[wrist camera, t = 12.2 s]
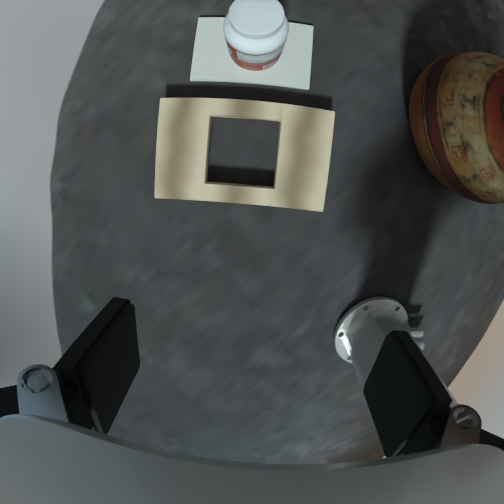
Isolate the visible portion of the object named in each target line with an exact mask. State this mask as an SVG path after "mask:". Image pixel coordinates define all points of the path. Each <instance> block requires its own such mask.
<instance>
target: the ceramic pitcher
mask: <svg viewBox="0 0 504 504" xmlns="http://www.w3.org/2000/svg"><path fill="white" fill-rule="evenodd" d="M409 120H410V126H411V130H412V134H413V139H414V142H415V145H416V148H417V150H418V152H419V154H420V156H421V158H422V160H423V162H424V163H425V165H426V166H427V168H428V169H429V171H430V172H431V173H432V175H433V176H434V177H435V178H436V179H437V180H438V181H439V182H441V183H442V184H443V185H444V186H446V187H447V188H449V189H450V190H451V191H453V192H455V193H457V194H458V195H460V196H462V197H464V198H467V199H469V200H472V201H476V202H479V203H485V204H497V203H504V59H503V58H501V57H498V56H496V55H493V54H490V53H485V52H477V51H460V52H453V53H449V54H447V55H444V56H442V57H440V58H438V59H436V60H435V61H433V62H432V63H431V64H429V65H428V66H427V67H426V68H425V69H424V70H423V72H422V73H421V74H420V75H419V77H418V79H417V80H416V82H415V84H414V86H413V89H412V92H411V95H410V100H409Z"/></svg>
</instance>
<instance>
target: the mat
mask: <svg viewBox="0 0 504 504" xmlns="http://www.w3.org/2000/svg"><path fill="white" fill-rule="evenodd" d="M224 19H225V17H199V19H198V25H197V31H196V38H195V45H194V52H193V59H192V67H191V76H190V81H218V82H239V83H253V84H264V85H274V86H283V87H290V88H298V89H304V90H309V84H310V71H311V57H312V42H313V26H310V25H304V24H298V23H291V22H288V24H289V32H288V36H287V39H286V42H285V45H284V48H283V51H282V54H281V56H280V58H279V60H278V61H277V63H276V64H275V65H273V66H272V67H270V68H268V69H266V70H263V71H248V70H245V69H242V68H240V67H239V66H238V65H236V64H235V63H234V62H233V60H232V59H231V57H230V54H229V51H228V47H227V43H226V40H225V36H224V32H223V23H224Z"/></svg>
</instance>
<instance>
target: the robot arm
mask: <svg viewBox="0 0 504 504" xmlns="http://www.w3.org/2000/svg"><path fill="white" fill-rule="evenodd" d="M422 336H423V329H412V328H411V327H410V326H409V325H408V315H407V313H406V310H405V309H404V307H403V306H402V305H401V304H400V303H399V302H398V301H397V300H395V299H393V298H390V297H382V296H379V297H372V298H369V299H366V300H364V301H362V302H360V303H358V304H356V305H355V306H353V307H352V308H351V309H350V310H348V311H347V312H346V313H345V314H344V316H343V317H342V318H341V319H340V321H339V323H338V325H337V326H336V329H335V332H334V345H335V348H336V351H337V353H338V354H339V356H340V357H341V358H342V359H344V360H345V361H347V362H350V363H353V366H354V368H355V371H356V373H357V376H358V378H359V381H360V383H361V386H362V388H363V392H364V395H365V398H366V401H367V404H368V406H369V409H370V412H371V415H372V418H373V421H374V424H375V427H376V429H377V432H378V435H379V438H380V441H381V444H382V447H383V450H384V454H385V456H386V457H387V458H383V459H375V460H367V461H358V462H347V463H333V464H306V465H288V464H261V463H247V462H236V461H227V460H219V459H211V458H204V457H198V456H192V455H186V454H181V453H176V452H171V451H166V450H162V449H158V448H153V447H149V446H145V445H142V444H138V443H134V442H130V441H126V440H123V439H119V438H116V437H113V436H109V435H106V434H107V433H108V431H109V429H110V427H111V425H112V423H113V421H114V419H115V417H116V415H117V412H118V410H119V408H120V406H121V404H122V402H123V400H124V398H125V396H126V394H127V392H128V390H129V388H130V386H131V384H132V382H133V380H134V378H135V376H136V374H137V372H138V369H139V366H140V358H139V349H138V340H137V330H136V318H135V307H134V305H133V304H131V303H130V300H128V299H123V298H118V297H114V298H112V300H111V301H110V302H109V303H108V304H107V305H106V306H105V307H104V308H103V309H102V311H101V312H100V313H99V314H98V315H97V316H96V317H95V319H94V320H93V321H92V322H91V323H90V324H89V325H88V327H87V328H86V329H85V330H84V331H83V332H82V333H81V334H80V336H79V337H78V338H77V339H76V340H75V342H74V343H73V344H72V345H71V346H70V348H69V349H68V350H67V351H66V352H65V354H64V355H63V356H62V357H61V358H60V360H59V361H58V362H57V364H56V365H55V366H54V367H53V368H51V367H49V366H47V365H42V364H38V365H37V364H36V365H31V366H28V367H27V368H25V369H23V370H22V371H21V372H20V374H19V376H18V378H17V385H14V386H10V387H5V388H0V504H504V439H503V438H500V437H498V436H496V435H494V434H491V433H489V432H487V431H485V430H483V429H481V425H482V424H481V418H480V416H479V415H478V413H477V412H476V411H475V410H474V409H473V408H471V407H469V406H467V405H459V404H458V403H457V401H456V400H455V399H454V397H453V396H452V394H451V392H450V391H449V390H448V388H447V387H446V385H445V383H444V382H443V380H442V379H441V377H440V376H439V374H438V373H437V371H436V370H435V368H434V367H433V365H432V364H431V362H430V361H429V359H428V358H427V356H426V355H425V354H424V352H423V351H422V350H423V348H424V341H423V340H422V339H418V340H415V339H414V338H413V337H422ZM103 433H104V434H103Z"/></svg>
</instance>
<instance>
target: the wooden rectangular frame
mask: <svg viewBox="0 0 504 504" xmlns="http://www.w3.org/2000/svg"><path fill="white" fill-rule="evenodd" d="M212 117H231V118H246V119H258V120H268V121H277V122H280V126H279V136H278V146H277V156H276V166H275V176H274V186H273V187H270V186H259V185H248V184H235V183H221V182H207V177H208V162H209V148H210V135H211V124H212ZM334 117H335V111H329V110H324V109H318V108H311V107H305V106H298V105H291V104H283V103H274V102H264V101H253V100H240V99H222V98H160V107H159V118H158V131H157V146H156V166H155V198H166V199H184V200H201V201H215V202H229V203H241V204H253V205H264V206H275V207H285V208H295V209H304V210H314V211H322V212H323V209H324V202H325V195H326V187H327V180H328V172H329V164H330V156H331V147H332V138H333V128H334Z"/></svg>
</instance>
